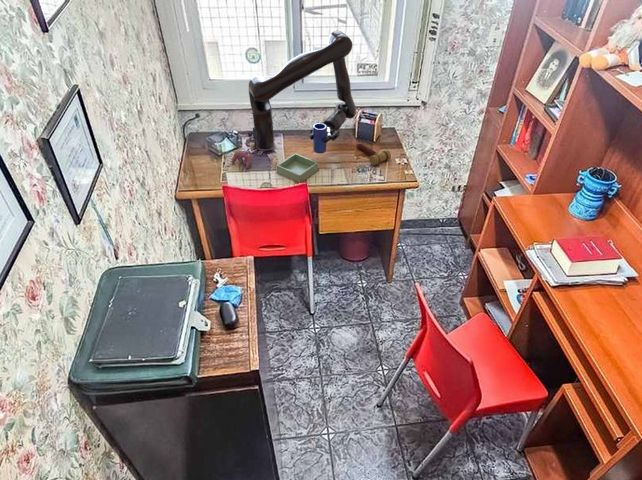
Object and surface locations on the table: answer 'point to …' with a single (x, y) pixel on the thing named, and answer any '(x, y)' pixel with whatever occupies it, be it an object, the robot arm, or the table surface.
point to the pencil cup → (319, 138)
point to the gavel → (375, 154)
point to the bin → (297, 167)
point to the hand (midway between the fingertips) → (317, 139)
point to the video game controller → (240, 156)
